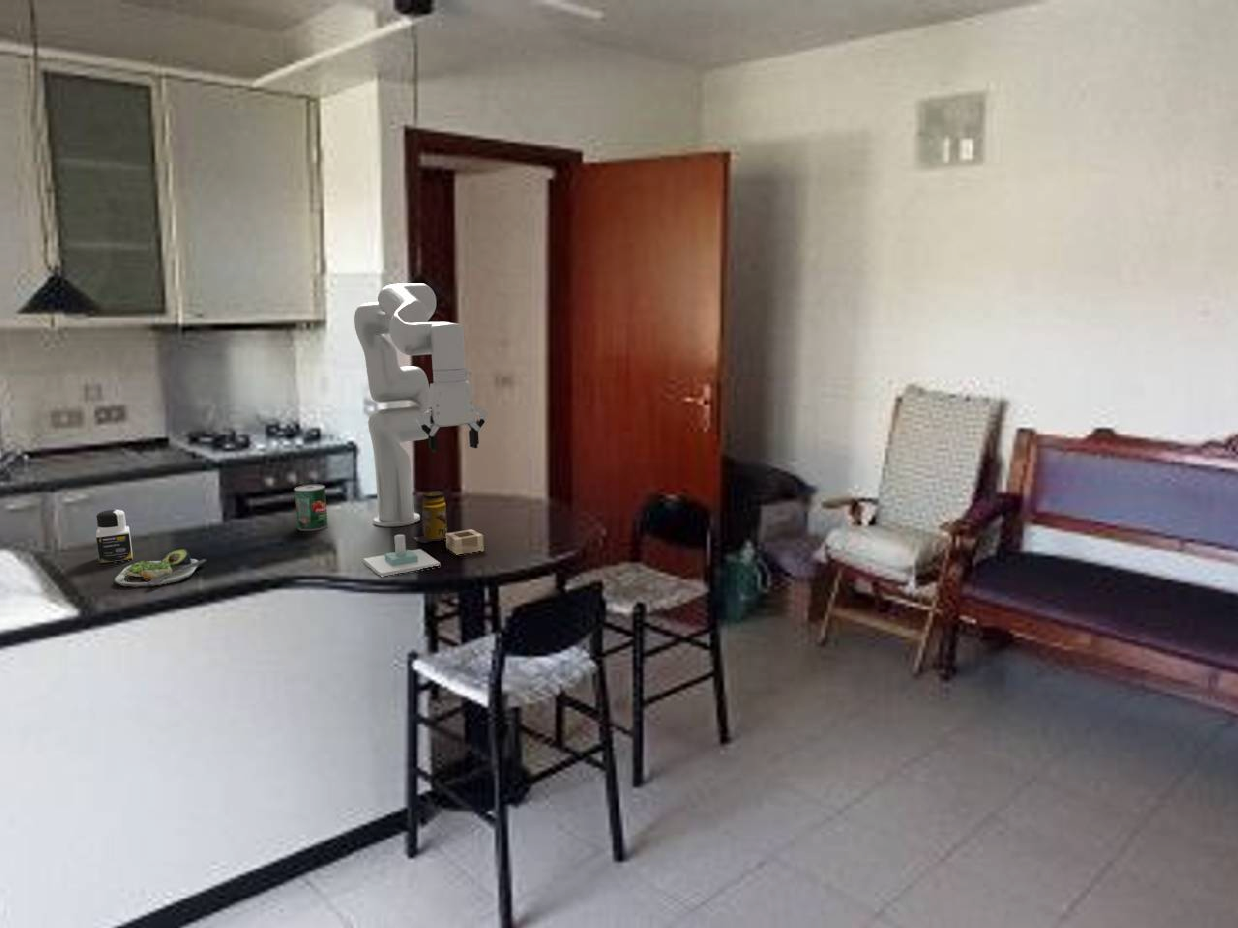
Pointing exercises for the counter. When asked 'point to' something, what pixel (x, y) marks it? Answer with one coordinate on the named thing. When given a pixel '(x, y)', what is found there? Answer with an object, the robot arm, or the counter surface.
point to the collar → (464, 542)
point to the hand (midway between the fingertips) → (454, 449)
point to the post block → (400, 560)
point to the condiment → (434, 515)
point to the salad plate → (161, 570)
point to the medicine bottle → (113, 536)
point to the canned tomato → (311, 507)
